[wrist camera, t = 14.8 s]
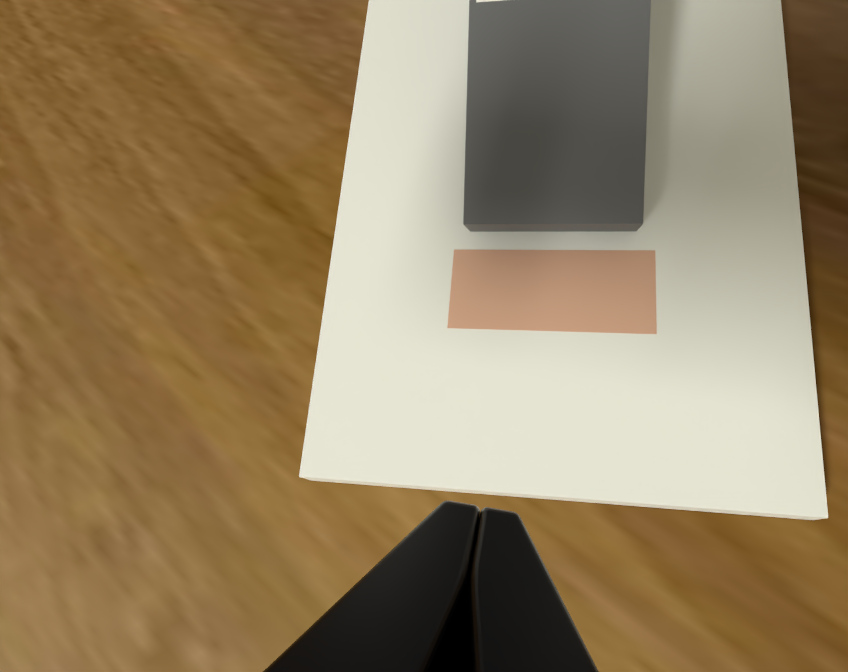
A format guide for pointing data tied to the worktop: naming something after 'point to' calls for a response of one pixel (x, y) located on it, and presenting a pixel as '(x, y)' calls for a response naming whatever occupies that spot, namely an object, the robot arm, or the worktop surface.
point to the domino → (556, 115)
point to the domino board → (575, 292)
